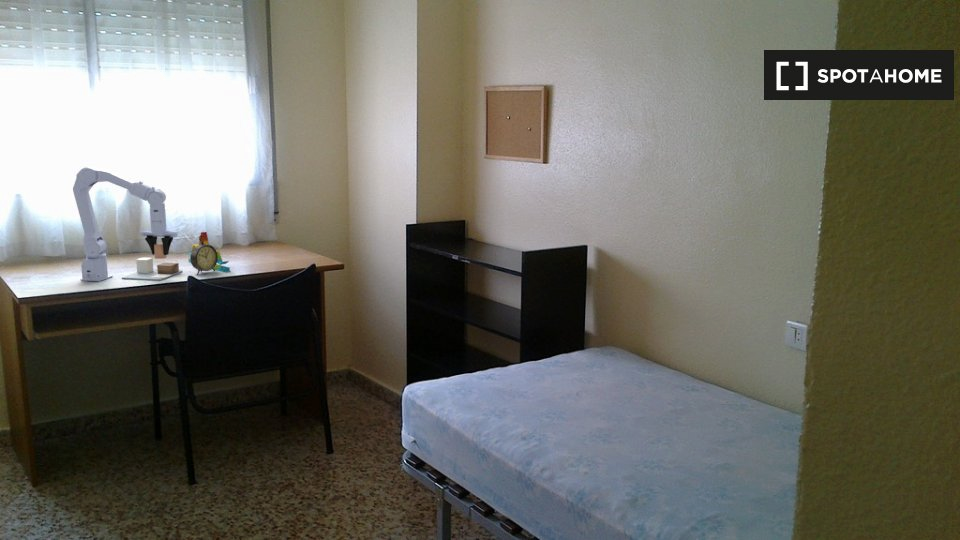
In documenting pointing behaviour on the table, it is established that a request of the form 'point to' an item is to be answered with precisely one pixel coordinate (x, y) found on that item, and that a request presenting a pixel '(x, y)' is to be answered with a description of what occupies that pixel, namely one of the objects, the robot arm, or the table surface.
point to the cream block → (144, 265)
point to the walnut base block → (168, 268)
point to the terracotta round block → (159, 251)
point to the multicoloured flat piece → (219, 261)
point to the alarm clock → (204, 257)
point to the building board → (150, 276)
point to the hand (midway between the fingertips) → (160, 254)
